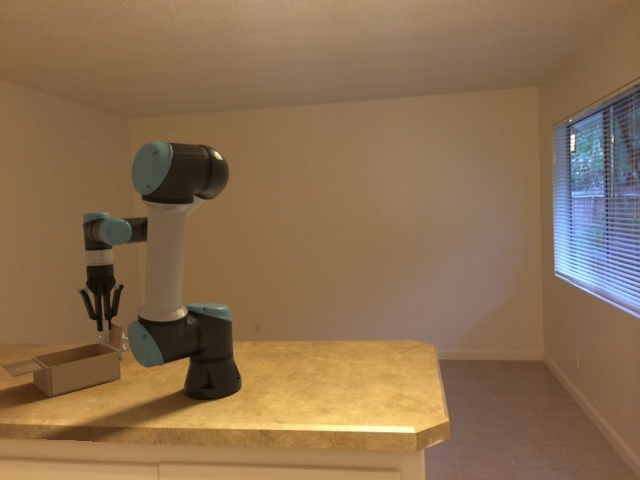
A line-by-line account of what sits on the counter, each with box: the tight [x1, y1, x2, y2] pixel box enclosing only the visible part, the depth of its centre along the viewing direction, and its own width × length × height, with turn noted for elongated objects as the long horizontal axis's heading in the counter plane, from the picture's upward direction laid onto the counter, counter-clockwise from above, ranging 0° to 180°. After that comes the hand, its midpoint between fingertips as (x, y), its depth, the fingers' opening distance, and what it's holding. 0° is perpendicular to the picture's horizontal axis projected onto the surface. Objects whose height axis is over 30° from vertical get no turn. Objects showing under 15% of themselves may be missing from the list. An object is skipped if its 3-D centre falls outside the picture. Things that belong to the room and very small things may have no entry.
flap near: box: [0, 356, 43, 378], centre depth 134 cm, size 15×1×7 cm
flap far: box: [101, 321, 124, 350], centre depth 151 cm, size 15×1×7 cm, turn 43°
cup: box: [98, 332, 131, 359], centre depth 166 cm, size 11×8×8 cm
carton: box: [30, 342, 122, 398], centre depth 144 cm, size 17×19×8 cm
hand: (105, 341), depth 150 cm, fingers closed
